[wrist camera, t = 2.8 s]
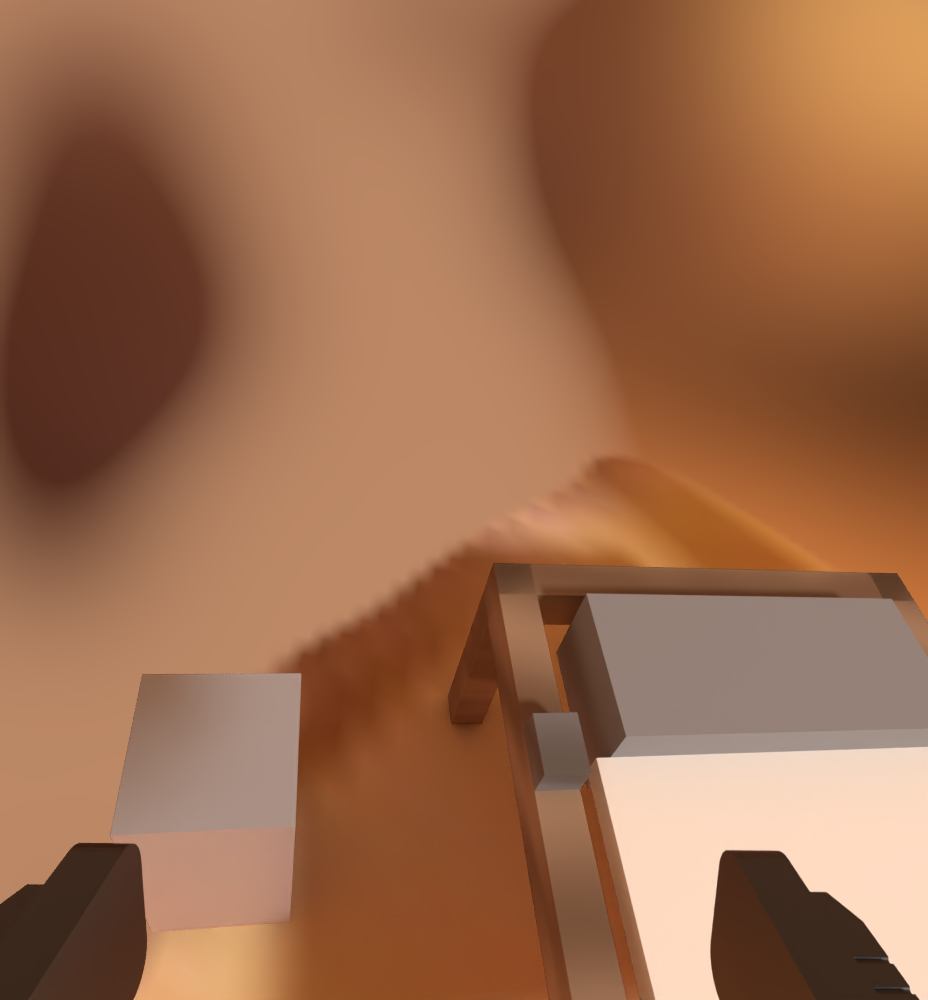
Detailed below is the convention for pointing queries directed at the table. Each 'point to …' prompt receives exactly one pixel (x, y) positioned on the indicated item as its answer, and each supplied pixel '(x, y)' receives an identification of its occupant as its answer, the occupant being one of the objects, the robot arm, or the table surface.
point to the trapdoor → (753, 763)
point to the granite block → (212, 797)
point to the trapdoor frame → (558, 736)
